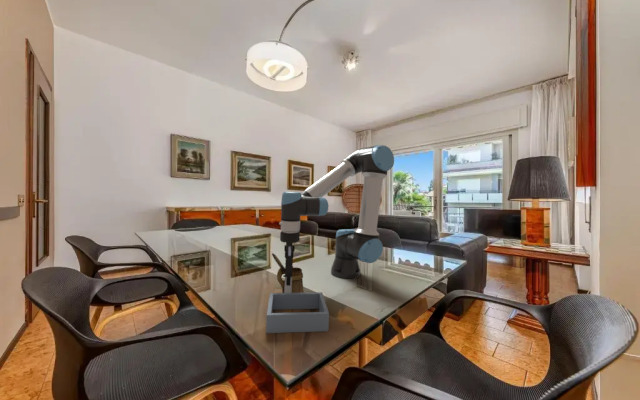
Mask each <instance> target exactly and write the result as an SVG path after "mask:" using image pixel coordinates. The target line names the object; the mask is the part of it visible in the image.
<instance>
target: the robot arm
mask: <svg viewBox="0 0 640 400" xmlns="http://www.w3.org/2000/svg"><path fill="white" fill-rule="evenodd" d="M394 164H395V156H394V152H393V151H392V149H390V147H389V146H387V145H382V144H381V145H380V144H378V145H373V146H367V147H361V148H358V149H357V150H355V151H353V152H352V153H350V154H349V155H348V156H346V157H345V158H344V159H342V160H341V161H340V164H339V165H337V166H336V167H335V168H334V169H332V170H331V171H329V172H328V173H327V174H326V175H324V176H322V177H321V178H320V179H319V180H317V181H315V182H314V183H313V184H312V185H310V186H309V187H307V188H306V189H305V190H303V191H301V192H298V191H284V192H283V193H282V194H281V204H280V206H281V207H280V213H281V214H280V216H281V217H280V222H279V226H280V232H279V234H280V235H279V241H280V242H281V243H285V244H284V258H285V263H284V265H285V266H284V268H286V273H285V274H283V275H282V277H284V280H285V287H284V293H291V292H292V268H293V267H294V265H293V259H294V257H295V256H294V255H295V244H296V243H299V241H300V235H301V234H300V230H301V217H307V216H308V217H309V216H310V217H313V216H314V217H315V216H316V217H320V216H325V215H327V213H328V211H329V202H328V200H327V199H326V198H325V196H326V195H327V194H329V193H330V192H331V191H332V190H334V189H336V188H337V187H338V186H339V185H340V184H342V183H343V182H344V181H345V180H347V179H348V178H350V177H354V176H356V175H358V174H359V173H361V175H362V176H363V177H364V178H363V187H362V194H361V200H360V201H361V202H360V210H359V215H358V216H359V218H358V225H357V226H358V227H357V228H350V229H349V228H348V229H346V228H345V229H338V230H337V231H336V234H335V251H334V260H333V262H332V265H331V268H330V273H331V275H332V276H333V277H337V278H341V279H356V278H358V277H357V276H359V275H360V276H361V268H360V264H359V261H360V262H362V263H366V264H373V263H376V262H377V261H378V259H380V258H381V256H382V254H383V251H384V246H383V245H384V244H383V243H382V241H381V240H380V233H379V232H378V231H377V230H378V223H379V222H378V221H379V215H380V214H379V213H380V206H381V205H380V204H381V198H382V190H383V182H384V179H385V178H386V177H387V176H388V171H390V170H391V169H392V168H393V167H394ZM358 260H359V261H358ZM360 276H359V277H360ZM355 277H356V278H355Z"/></svg>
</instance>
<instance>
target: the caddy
mask: <svg viewBox="0 0 640 400" xmlns="http://www.w3.org/2000/svg"><path fill="white" fill-rule="evenodd" d="M324 297H325V296H324V294H323V292H318V291H317V292H304V293H282V292H270V293H269V297H268V305H267V310H266V322H265V323H266V324H265V326H266V327H265V331H266V332H265V334H276V333H277V334H281V333H283V334H284V333H309V332H311V333H313V332H315V333H316V332H329V327H330V326H329V324H330V312H329V310H328V305H327V302H326V300H325V298H324ZM305 309H306V310H310V309H312V310H317V309H318V311H309V312H304V311H303V312H274V310H305Z"/></svg>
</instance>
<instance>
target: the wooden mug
mask: <svg viewBox="0 0 640 400" xmlns="http://www.w3.org/2000/svg"><path fill="white" fill-rule="evenodd" d="M271 256H272V257H273V260H274V261H275V263H276V264H277V265H278V267H279V269H278V271H277V272H276V279H277V281H278V283H279V285H280V286H281V290H282V292H281V293H284V287H285V279H284V280H283V278H282V277H283V275H285V273H286V268H285V266H284V265H283V263H282V262H281V260H280V259H279V258H278V256H277V255H276V254H275V253H274V252H272V253H271ZM303 278H304V274H303V270H302V268H301V267H297V266H296V267H294V266H293V268H292V292H291V293H305V292H304V280H303Z"/></svg>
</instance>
